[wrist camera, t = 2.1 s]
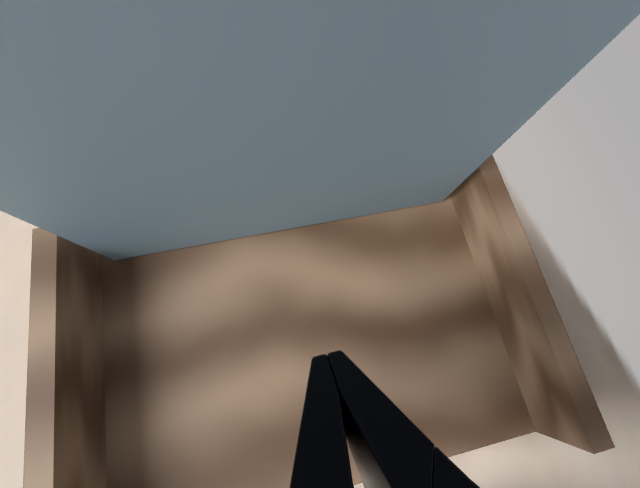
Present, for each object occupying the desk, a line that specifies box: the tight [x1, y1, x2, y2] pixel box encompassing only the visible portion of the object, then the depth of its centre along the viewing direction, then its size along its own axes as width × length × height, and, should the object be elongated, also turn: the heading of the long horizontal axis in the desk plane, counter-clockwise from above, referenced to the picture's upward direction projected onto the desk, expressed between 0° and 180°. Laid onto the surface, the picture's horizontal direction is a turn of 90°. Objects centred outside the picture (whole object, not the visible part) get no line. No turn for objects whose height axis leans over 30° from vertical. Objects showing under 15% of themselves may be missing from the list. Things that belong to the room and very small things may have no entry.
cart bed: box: [23, 155, 615, 488], centre depth 19 cm, size 17×27×5 cm, turn 102°
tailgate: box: [0, 0, 640, 260], centre depth 13 cm, size 1×23×20 cm, turn 103°
